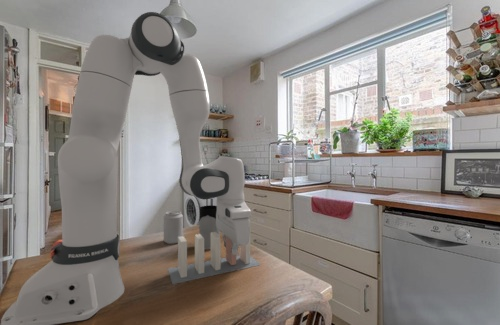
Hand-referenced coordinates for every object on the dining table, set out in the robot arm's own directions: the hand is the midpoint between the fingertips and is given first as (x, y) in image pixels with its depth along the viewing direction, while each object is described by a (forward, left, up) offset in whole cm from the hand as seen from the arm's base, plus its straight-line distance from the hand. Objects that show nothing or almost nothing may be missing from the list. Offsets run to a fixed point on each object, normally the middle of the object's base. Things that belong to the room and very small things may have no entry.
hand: (230, 250), depth 77 cm
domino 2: (-10, 0, -4) cm, 11 cm away
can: (-13, +30, -5) cm, 33 cm away
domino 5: (+5, 0, -4) cm, 7 cm away
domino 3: (-5, 0, -4) cm, 7 cm away
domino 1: (-15, 0, -4) cm, 16 cm away
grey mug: (0, +21, -5) cm, 22 cm away
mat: (-5, 0, -5) cm, 7 cm away
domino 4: (0, 0, -4) cm, 4 cm away
